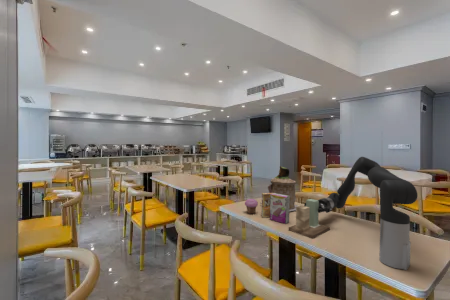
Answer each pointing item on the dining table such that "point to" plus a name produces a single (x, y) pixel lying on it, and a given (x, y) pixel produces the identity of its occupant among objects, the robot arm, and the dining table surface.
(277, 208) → the candy bar box
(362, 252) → the dining table surface
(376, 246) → the dining table surface
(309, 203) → the green block
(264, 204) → the candy box
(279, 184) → the cookie jar
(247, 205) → the cupcake
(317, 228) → the base board
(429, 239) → the dining table surface
